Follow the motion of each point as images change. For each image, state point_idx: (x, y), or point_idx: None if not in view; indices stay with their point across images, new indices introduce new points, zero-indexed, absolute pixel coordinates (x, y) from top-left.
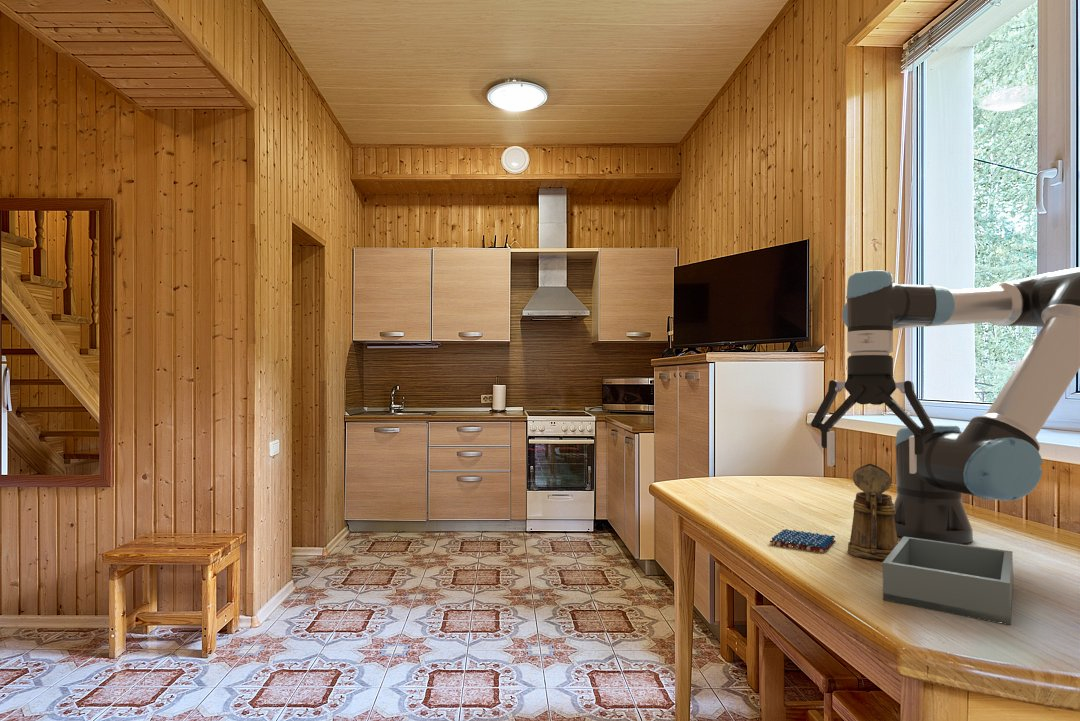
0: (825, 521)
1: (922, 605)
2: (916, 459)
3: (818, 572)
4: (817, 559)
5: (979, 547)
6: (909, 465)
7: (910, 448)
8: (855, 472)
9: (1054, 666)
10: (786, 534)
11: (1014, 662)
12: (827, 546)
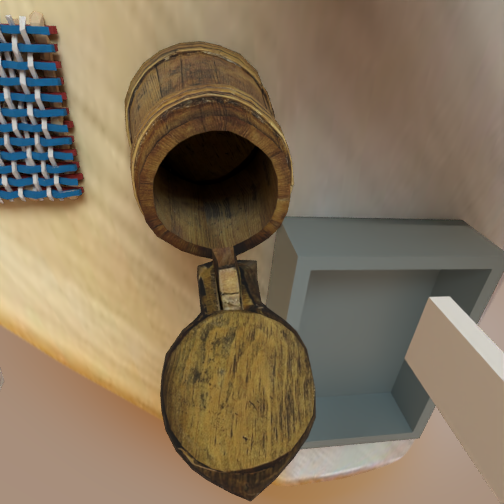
0: None
1: None
2: (497, 348)
3: (130, 342)
4: (92, 260)
5: (452, 262)
6: (425, 388)
7: (493, 481)
8: (177, 444)
9: (396, 453)
10: None
11: (366, 463)
12: (76, 169)
